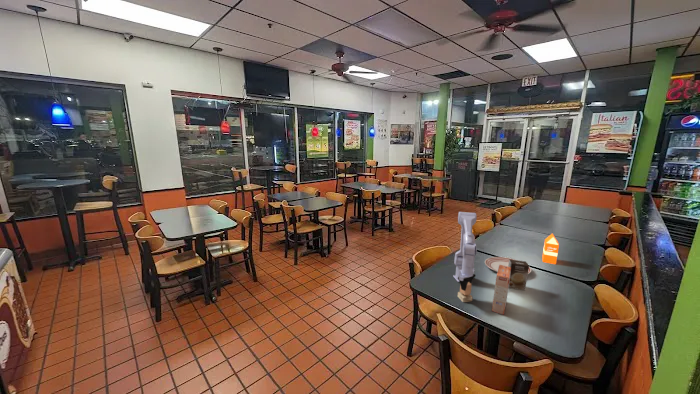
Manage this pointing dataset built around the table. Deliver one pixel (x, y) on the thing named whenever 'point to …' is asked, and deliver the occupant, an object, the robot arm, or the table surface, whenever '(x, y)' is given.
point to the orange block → (468, 289)
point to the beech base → (464, 297)
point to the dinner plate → (499, 263)
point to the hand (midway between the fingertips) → (465, 287)
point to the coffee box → (518, 274)
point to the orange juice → (550, 250)
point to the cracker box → (501, 289)
